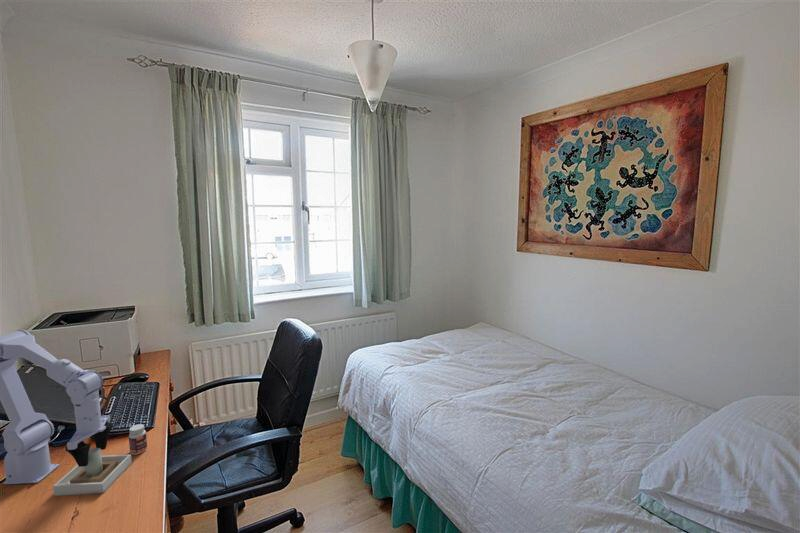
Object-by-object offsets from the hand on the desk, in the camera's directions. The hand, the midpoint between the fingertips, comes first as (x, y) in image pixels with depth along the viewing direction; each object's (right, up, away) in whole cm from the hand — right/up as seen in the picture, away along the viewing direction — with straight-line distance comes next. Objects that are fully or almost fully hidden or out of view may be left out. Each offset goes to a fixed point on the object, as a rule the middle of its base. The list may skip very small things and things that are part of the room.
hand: (92, 457), depth 112 cm
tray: (0, -7, +1) cm, 7 cm away
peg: (0, -6, +1) cm, 6 cm away
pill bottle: (+4, -5, +14) cm, 16 cm away
